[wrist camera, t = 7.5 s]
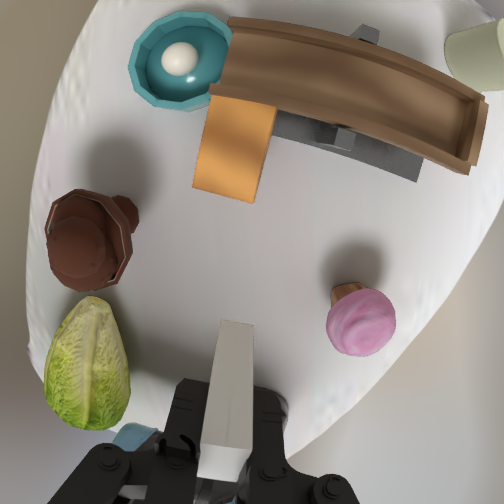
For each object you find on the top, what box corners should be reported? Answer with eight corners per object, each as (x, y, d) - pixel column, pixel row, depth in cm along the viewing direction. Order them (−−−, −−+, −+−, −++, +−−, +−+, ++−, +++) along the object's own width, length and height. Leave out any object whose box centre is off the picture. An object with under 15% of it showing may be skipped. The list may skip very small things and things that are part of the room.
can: (486, 103, 27) (544, 106, 16) (440, 73, 26) (499, 63, 15) (490, 53, 23) (544, 46, 12) (445, 21, 23) (497, 0, 12)
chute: (418, 248, 28) (438, 271, 22) (209, 181, 31) (182, 190, 25) (461, 103, 22) (490, 95, 16) (245, 35, 25) (226, 12, 19)
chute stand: (412, 181, 32) (454, 199, 23) (241, 128, 31) (234, 125, 22) (435, 90, 27) (480, 84, 18) (268, 27, 26) (271, -8, 17)
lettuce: (76, 268, 44) (158, 303, 48) (54, 379, 44) (124, 407, 49) (42, 289, 30) (151, 337, 34) (29, 420, 30) (116, 457, 34)
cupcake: (310, 279, 38) (324, 326, 29) (371, 258, 36) (402, 297, 27) (326, 329, 41) (340, 378, 32) (381, 310, 40) (406, 354, 30)
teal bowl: (225, 118, 30) (221, 116, 27) (131, 105, 30) (119, 103, 26) (249, 28, 26) (248, 17, 23) (155, 19, 25) (145, 10, 22)
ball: (197, 76, 25) (158, 70, 24) (189, 80, 29) (156, 75, 27) (206, 42, 24) (169, 35, 22) (198, 49, 27) (164, 43, 25)
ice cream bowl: (91, 167, 32) (12, 194, 19) (167, 188, 34) (110, 227, 20) (82, 241, 36) (17, 293, 23) (152, 264, 38) (103, 333, 24)
